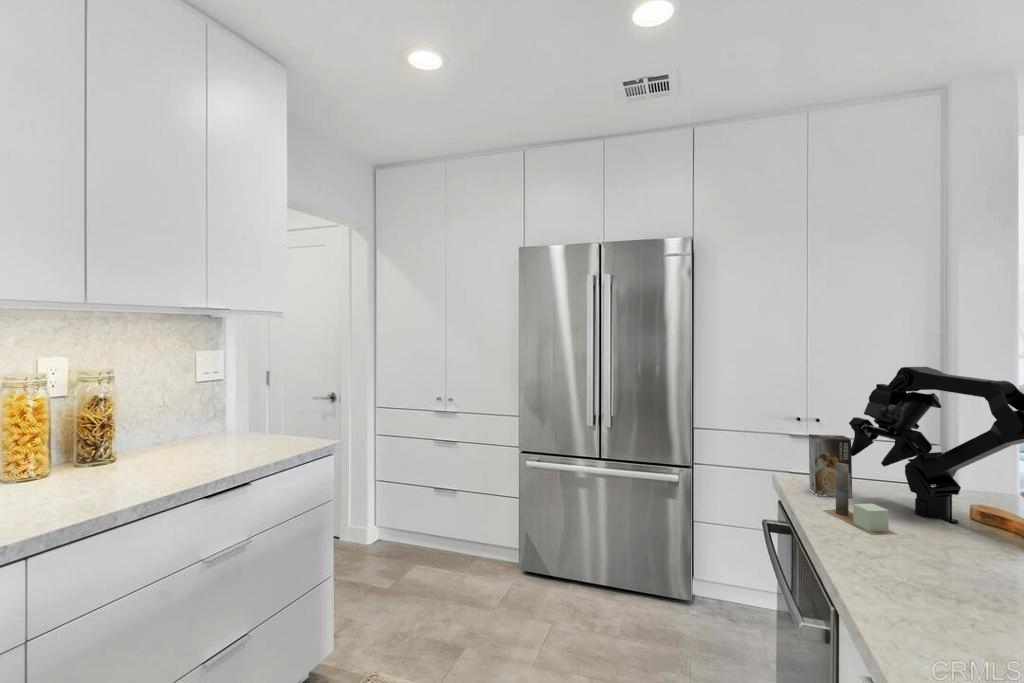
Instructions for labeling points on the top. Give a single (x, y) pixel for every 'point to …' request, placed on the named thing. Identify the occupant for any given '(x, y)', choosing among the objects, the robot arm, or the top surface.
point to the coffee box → (828, 462)
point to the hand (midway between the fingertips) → (866, 459)
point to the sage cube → (871, 517)
